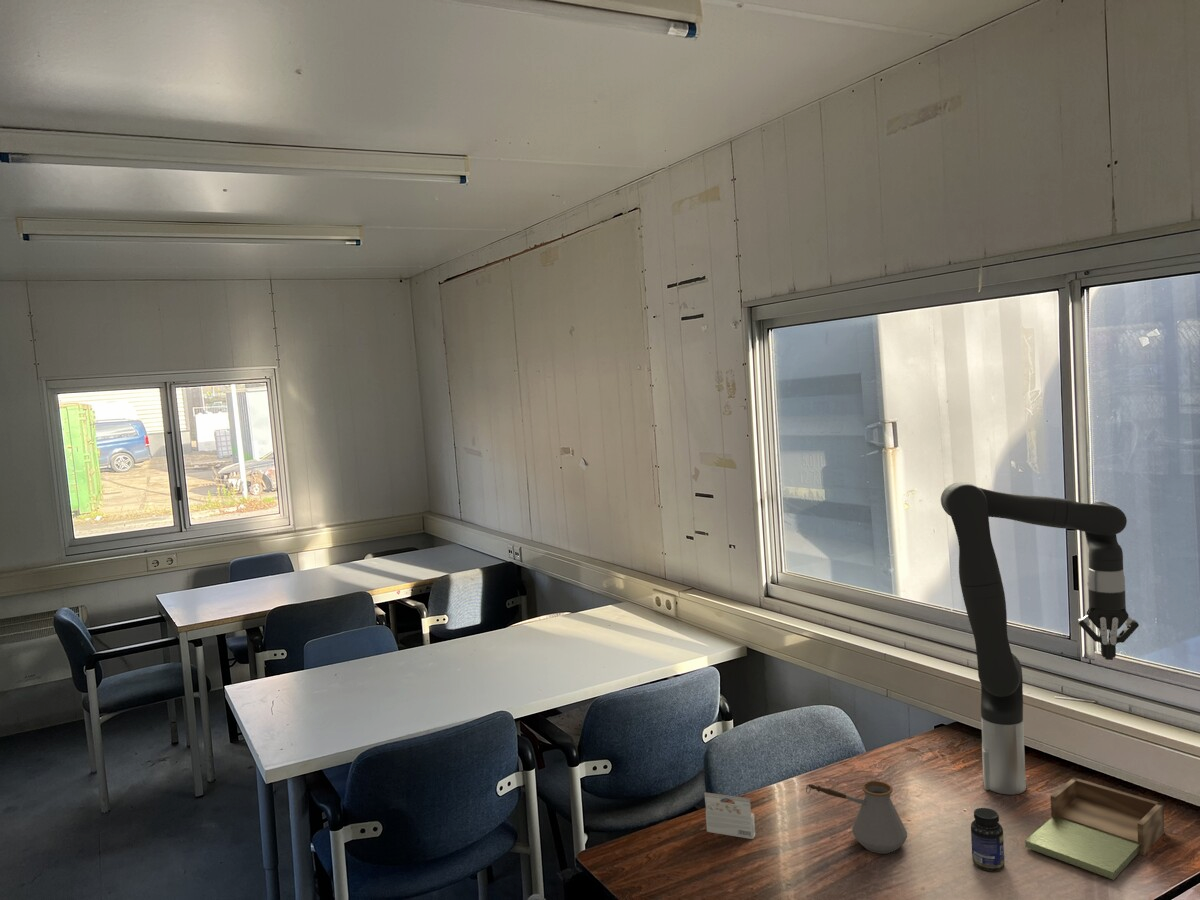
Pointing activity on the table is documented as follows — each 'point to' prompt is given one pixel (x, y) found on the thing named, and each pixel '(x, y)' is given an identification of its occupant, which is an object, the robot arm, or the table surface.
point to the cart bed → (1110, 812)
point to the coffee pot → (875, 817)
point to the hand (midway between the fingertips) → (1108, 658)
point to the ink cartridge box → (729, 816)
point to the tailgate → (1083, 846)
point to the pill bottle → (987, 840)
